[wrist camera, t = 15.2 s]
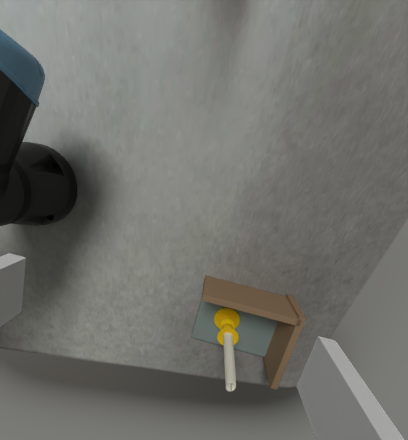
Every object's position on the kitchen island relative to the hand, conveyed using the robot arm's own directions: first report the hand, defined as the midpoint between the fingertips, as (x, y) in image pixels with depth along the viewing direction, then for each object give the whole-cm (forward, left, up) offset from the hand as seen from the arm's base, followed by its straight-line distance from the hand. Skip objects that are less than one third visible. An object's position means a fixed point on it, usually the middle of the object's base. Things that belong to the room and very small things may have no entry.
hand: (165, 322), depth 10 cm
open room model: (+12, -21, -33) cm, 41 cm away
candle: (+10, -21, -32) cm, 40 cm away
